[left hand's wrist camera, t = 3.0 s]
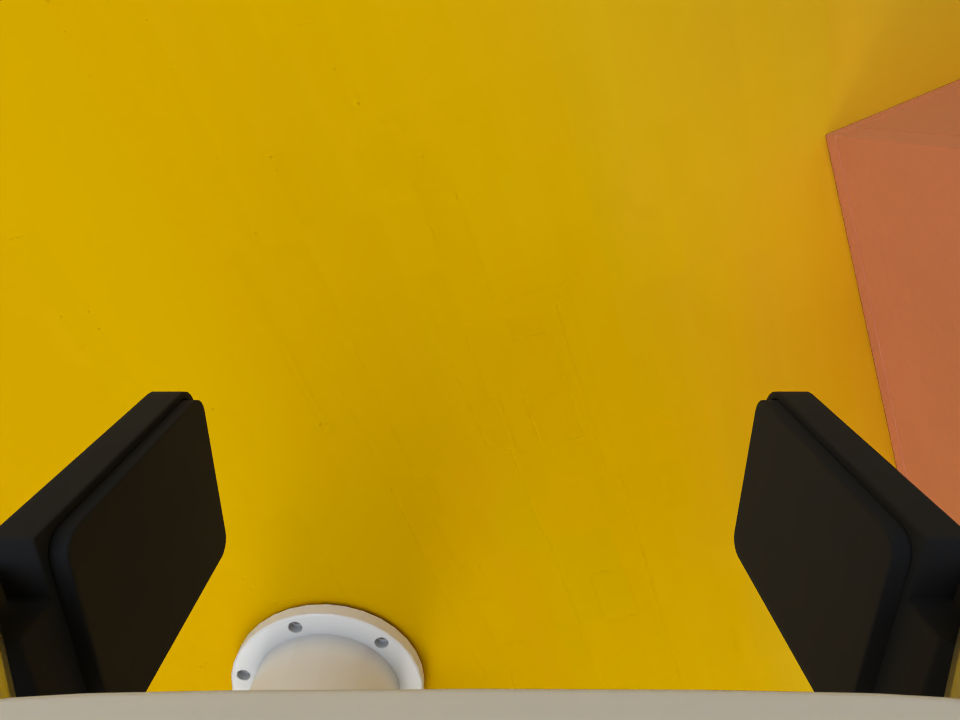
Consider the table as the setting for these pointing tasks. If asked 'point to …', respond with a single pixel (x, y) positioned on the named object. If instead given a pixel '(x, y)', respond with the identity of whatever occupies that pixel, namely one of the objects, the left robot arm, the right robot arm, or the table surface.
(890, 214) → the cabinet
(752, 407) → the table surface
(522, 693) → the left robot arm
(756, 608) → the table surface
